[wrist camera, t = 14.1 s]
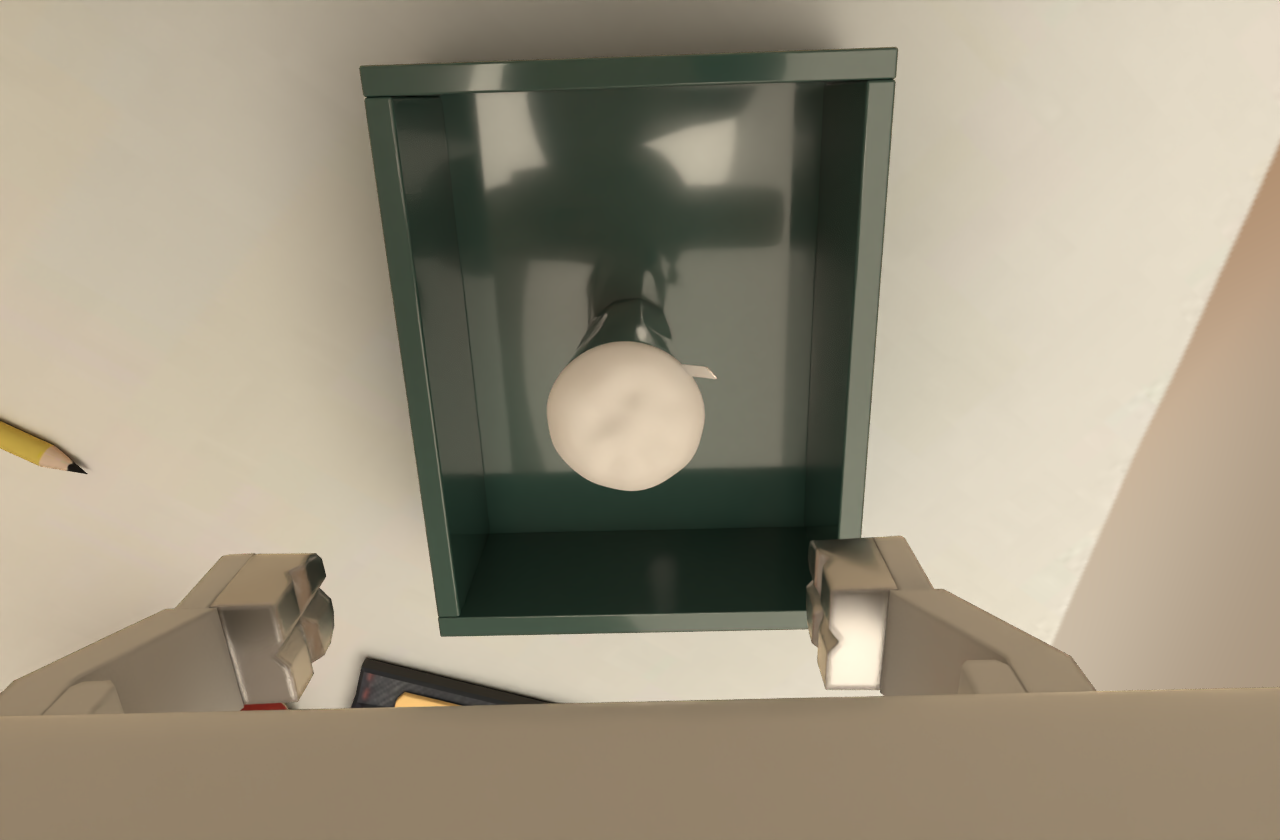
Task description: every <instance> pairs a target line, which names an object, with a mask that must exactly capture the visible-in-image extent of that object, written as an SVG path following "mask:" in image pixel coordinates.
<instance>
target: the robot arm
mask: <svg viewBox="0 0 1280 840" xmlns="http://www.w3.org/2000/svg"><path fill="white" fill-rule="evenodd" d="M808 567H809V570H810V573H811V576H812V581H811V582H810V583H809V584H808V585H807V587H806V613H807V624H808V630H809V634H810V638H811V642H812V644H814V645H815V646H816V647H818V655H817V663H818V666H819V669H820V672H821V676H822V679H823V682H824V686H825V689H826V690H880V692H881V693H882V694H883V695H884V696H864V697H820V698H777V699H734V700H691V701H648V702H605V703H561V704H517V705H473V706H429V707H385V708H341V709H297V710H253V711H240V710H241V709H242V708H244V705H247V704H267V703H287V702H298V701H299V699H300V697H301V695H302V693H303V692H304V690H305V688H306V686H307V685H308V683H309V681H310V679H311V678H312V676H313V674H314V672H313V668H312V663H313V662H314V661H316V660H317V659H319V658H320V657H322V656H324V655H325V653H326V651H327V649H328V647H329V645H330V643H331V638H332V634H333V629H334V611H333V606H332V601H331V598H330V597H329V596H327V595H326V594H325V593H324V592H323V591H322V590H321V589H320V588H319V587H320V586H321V584H322V582H323V581H324V579H325V577H326V573H325V569H324V566H323V562H322V559H321V558H320V557H319V556H318V555H317V554H316V553H291V554H255V553H251V554H230V555H225V556H222V557H221V558H220V559H219V560H218V561H217V562H216V564H215V565H214V566H213V567H212V568H211V569H210V570H209V571H208V572H207V574H206V575H205V576H204V577H203V578H202V579H201V580H200V581H199V582H198V584H197V585H196V586H195V587H194V588H193V589H192V590H191V591H190V592H189V593H188V595H187V596H186V597H185V598H184V599H183V600H182V601H181V602H180V603H179V605H178V606H177V607H176V608H175V609H164V610H162V611H160V612H158V613H156V614H154V615H152V616H149V617H147V618H145V619H143V620H141V621H139V622H137V623H135V624H133V625H130V626H128V627H126V628H124V629H122V630H120V631H118V632H116V633H114V634H111V635H109V636H107V637H105V638H103V639H101V640H99V641H97V642H95V643H92V644H90V645H88V646H86V647H84V648H82V649H80V650H78V651H76V652H74V653H71V654H69V655H67V656H65V657H63V658H61V659H59V660H57V661H55V662H52V663H50V664H48V665H46V666H44V667H42V668H40V669H38V670H36V671H33V672H31V673H29V674H27V675H25V676H23V677H21V678H19V679H17V680H14V681H13V682H12V683H11V684H10V685H9V686H8V687H7V688H6V689H5V690H4V691H3V692H1V693H0V840H1280V687H1262V688H1218V689H1217V688H1216V689H1176V690H1174V689H1171V690H1128V691H1096V690H1095V688H1094V687H1093V685H1092V684H1091V683H1090V681H1089V680H1088V679H1087V677H1086V676H1085V674H1084V673H1083V672H1082V671H1081V669H1080V668H1079V666H1078V665H1077V664H1076V662H1075V661H1074V660H1073V658H1072V657H1071V656H1070V655H1067V654H1066V653H1064V652H1062V651H1060V650H1058V649H1056V648H1054V647H1053V646H1051V645H1049V644H1047V643H1045V642H1043V641H1041V640H1039V639H1037V638H1035V637H1034V636H1032V635H1030V634H1028V633H1026V632H1024V631H1022V630H1020V629H1018V628H1016V627H1014V626H1013V625H1011V624H1009V623H1007V622H1005V621H1003V620H1001V619H999V618H997V617H995V616H994V615H992V614H990V613H988V612H986V611H984V610H982V609H980V608H978V607H976V606H975V605H973V604H971V603H969V602H967V601H965V600H963V599H961V598H959V597H957V596H956V595H954V594H952V593H950V592H948V591H946V590H944V589H934V588H933V586H932V584H931V583H930V581H929V579H928V577H927V576H926V574H925V572H924V570H923V569H922V567H921V565H920V564H919V562H918V560H917V558H916V557H915V555H914V553H913V551H912V550H911V548H910V546H909V544H908V543H907V541H906V539H905V538H904V537H902V536H888V537H871V538H851V539H832V540H813V541H810V544H809V549H808Z"/></svg>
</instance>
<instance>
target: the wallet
mask: <svg viewBox="0 0 1280 840" xmlns="http://www.w3.org/2000/svg"><path fill="white" fill-rule="evenodd" d="M517 704H551V703H547V702H543V701H538V700H534V699H530V698H526V697H522V696H518V695H514V694H510V693H506V692H502V691H497V690H493V689H489V688H485V687H481V686H477V685H473V684H469V683H465V682H461V681H456V680H452V679H448V678H444V677H440V676H436V675H432V674H428V673H424V672H420V671H416V670H411V669H407V668H403V667H399V666H395V665H391V664H387V663H383V662H379V661H375V660H371V659H367V658H366V659H365V661H364V663H363V665H362V667H361V672H360V677H359V682H358V686H357V691H356V695H355V698H354V701H353V704H352V707H351V708H385V707H429V706H473V705H517Z"/></svg>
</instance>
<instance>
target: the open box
mask: <svg viewBox="0 0 1280 840" xmlns="http://www.w3.org/2000/svg"><path fill="white" fill-rule="evenodd" d="M897 57H898V48H897V47H880V48H852V49H823V50H795V51H766V52H737V53H709V54H680V55H651V56H623V57H594V58H565V59H537V60H508V61H480V62H451V63H422V64H394V65H365V66H360V68H359V69H360V76H361V83H362V90H363V95H364V96H365V97H367V98H365V100H364V102H365V109H366V116H367V123H368V130H369V137H370V144H371V151H372V158H373V165H374V172H375V179H376V186H377V193H378V200H379V207H380V214H381V221H382V228H383V235H384V242H385V249H386V256H387V263H388V270H389V277H390V284H391V291H392V298H393V305H394V312H395V319H396V326H397V333H398V340H399V346H400V353H401V360H402V367H403V374H404V381H405V388H406V395H407V402H408V409H409V416H410V423H411V430H412V437H413V444H414V451H415V458H416V465H417V472H418V479H419V486H420V493H421V500H422V507H423V514H424V521H425V528H426V535H427V542H428V549H429V556H430V563H431V570H432V577H433V584H434V591H435V598H436V605H437V612H438V616H439V617H438V621H439V628H440V635H441V636H442V637H446V636H495V635H545V634H594V633H643V632H693V631H742V630H792V629H808V624H807V613H806V587H807V585H808V584H809V583H810V582H811V581H812V576H811V573H810V570H809V567H808V549H809V544H810V541H813V540H832V539H851V538H861V532H862V519H863V506H864V493H865V479H866V466H867V453H868V440H869V426H870V413H871V400H872V387H873V374H874V360H875V347H876V334H877V321H878V307H879V294H880V281H881V268H882V255H883V241H884V228H885V215H886V202H887V188H888V175H889V162H890V149H891V136H892V122H893V109H894V96H895V83H896V82H895V80H893V79H895V77H896V71H897ZM640 299H641V300H642V301H644V302H646V303H647V304H649V305H651V306H653V307H654V308H656V309H658V310H659V311H661V312H663V313H664V314H665V316H666V319H667V321H668V324H669V326H670V328H671V331H672V333H673V335H674V337H675V340H676V342H677V345H678V348H679V351H680V353H681V355H682V357H683V358H684V360H685V362H686V364H687V365H698V366H706V367H708V368H709V369H710V370H711V371H712V372H713V373H714V374H715V376H716V377H717V379H708V378H701V377H693V378H694V380H695V382H696V384H697V386H698V388H699V390H700V392H701V395H702V398H703V402H704V409H705V419H704V427H703V431H702V435H701V439H700V442H699V445H698V448H697V450H696V452H695V454H694V456H693V458H692V459H691V460H690V462H689V463H688V464H687V465H686V466H685V467H684V468H682V469H681V470H680V471H679V472H677V473H676V474H674V475H673V476H672V477H670V478H669V479H667V480H666V481H664V482H662V483H660V484H658V485H656V486H654V487H651V488H648V489H644V490H639V491H624V490H618V489H613V488H609V487H605V486H601V485H598V484H596V483H593V482H591V481H589V480H587V479H585V478H584V477H582V476H581V475H579V474H578V473H577V472H575V471H574V470H573V469H572V468H571V467H570V466H569V465H568V464H567V463H566V462H565V461H564V460H563V459H562V458H561V456H560V455H559V454H558V452H557V451H556V449H555V447H554V445H553V443H552V440H551V436H550V432H549V426H548V420H547V402H548V397H549V394H550V391H551V389H552V387H553V384H554V383H555V381H556V379H557V377H558V376H559V374H560V373H561V372H562V371H563V369H564V368H565V366H566V365H567V363H568V362H569V360H570V359H571V358H572V356H573V355H574V353H575V351H576V349H577V347H578V345H579V344H580V342H581V340H582V338H583V336H584V335H585V333H586V331H587V329H588V327H589V326H590V324H591V322H592V320H593V319H594V318H595V317H597V316H598V315H599V314H600V313H601V312H602V311H603V310H605V309H606V308H607V307H608V306H609V305H610V304H611V303H613V302H617V301H629V300H640Z"/></svg>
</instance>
